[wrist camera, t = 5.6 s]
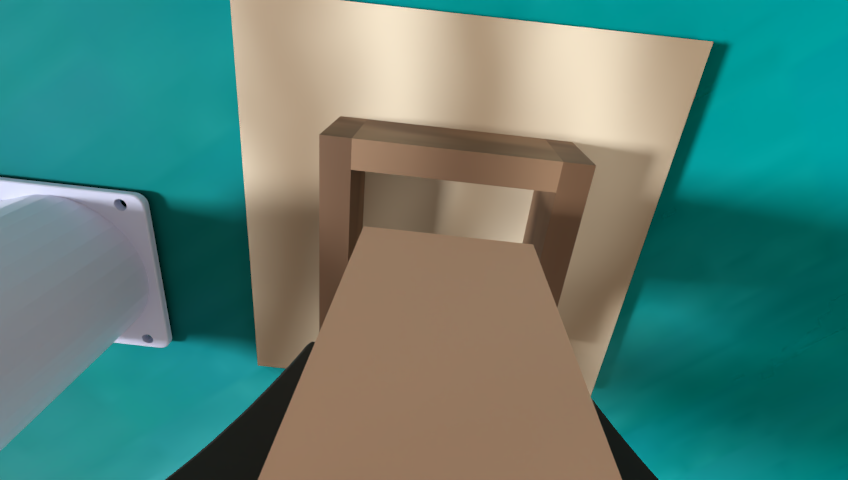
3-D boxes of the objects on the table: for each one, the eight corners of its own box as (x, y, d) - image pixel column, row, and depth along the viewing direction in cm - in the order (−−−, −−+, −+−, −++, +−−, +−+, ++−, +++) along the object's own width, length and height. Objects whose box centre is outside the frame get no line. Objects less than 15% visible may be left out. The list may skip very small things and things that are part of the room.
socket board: (265, 351, 23) (231, 413, 19) (241, -11, 16) (180, -20, 12) (583, 387, 23) (608, 456, 19) (698, 40, 16) (771, 46, 12)
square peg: (357, 359, 14) (261, 717, 7) (363, 226, 12) (236, 531, 5) (503, 375, 14) (561, 751, 7) (533, 244, 12) (659, 577, 5)
